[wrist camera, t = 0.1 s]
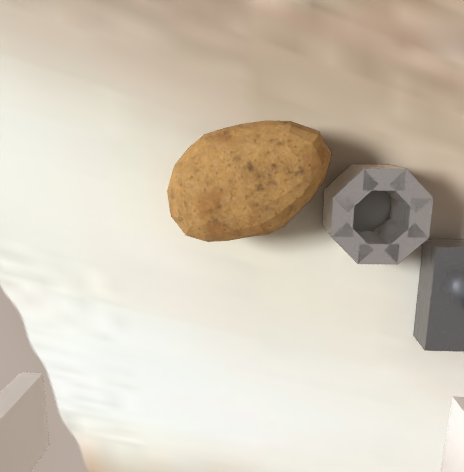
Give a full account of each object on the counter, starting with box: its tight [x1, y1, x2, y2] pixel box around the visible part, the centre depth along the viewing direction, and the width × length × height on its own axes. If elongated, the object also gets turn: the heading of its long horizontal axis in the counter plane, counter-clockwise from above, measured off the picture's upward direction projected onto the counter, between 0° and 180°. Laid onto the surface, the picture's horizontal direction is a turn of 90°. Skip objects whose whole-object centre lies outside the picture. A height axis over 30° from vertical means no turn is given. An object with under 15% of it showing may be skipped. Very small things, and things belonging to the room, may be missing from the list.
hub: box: [323, 164, 433, 264], centre depth 37 cm, size 8×8×5 cm
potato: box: [167, 121, 331, 242], centre depth 35 cm, size 10×14×8 cm
